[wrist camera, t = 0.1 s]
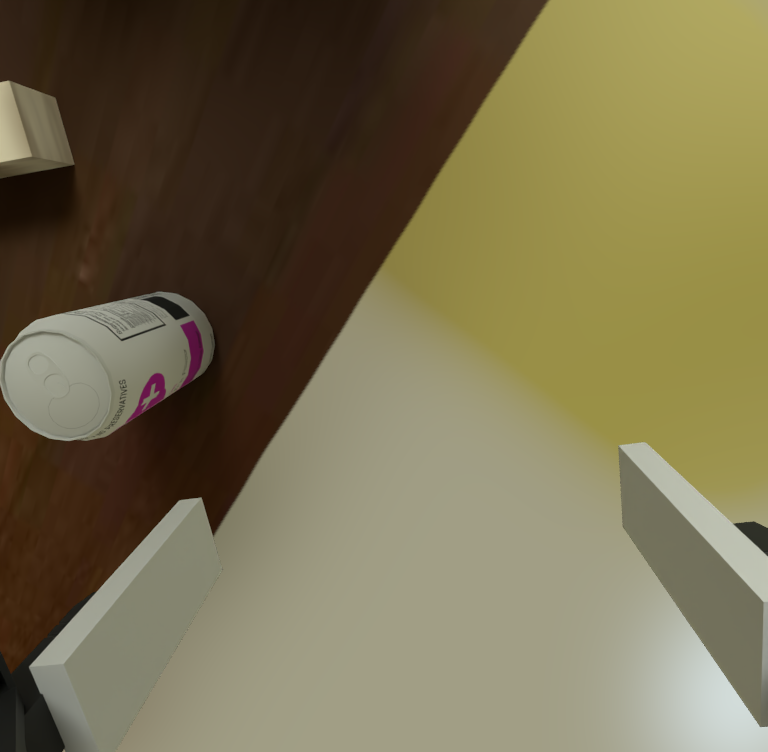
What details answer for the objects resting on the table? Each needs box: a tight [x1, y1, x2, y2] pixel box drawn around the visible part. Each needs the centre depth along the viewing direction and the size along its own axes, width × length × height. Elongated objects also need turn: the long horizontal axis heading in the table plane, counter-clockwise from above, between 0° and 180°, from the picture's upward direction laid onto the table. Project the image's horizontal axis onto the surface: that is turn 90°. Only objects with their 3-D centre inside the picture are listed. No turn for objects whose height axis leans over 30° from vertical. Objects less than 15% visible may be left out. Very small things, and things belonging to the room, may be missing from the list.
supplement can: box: [0, 292, 215, 441], centre depth 38 cm, size 8×8×15 cm
